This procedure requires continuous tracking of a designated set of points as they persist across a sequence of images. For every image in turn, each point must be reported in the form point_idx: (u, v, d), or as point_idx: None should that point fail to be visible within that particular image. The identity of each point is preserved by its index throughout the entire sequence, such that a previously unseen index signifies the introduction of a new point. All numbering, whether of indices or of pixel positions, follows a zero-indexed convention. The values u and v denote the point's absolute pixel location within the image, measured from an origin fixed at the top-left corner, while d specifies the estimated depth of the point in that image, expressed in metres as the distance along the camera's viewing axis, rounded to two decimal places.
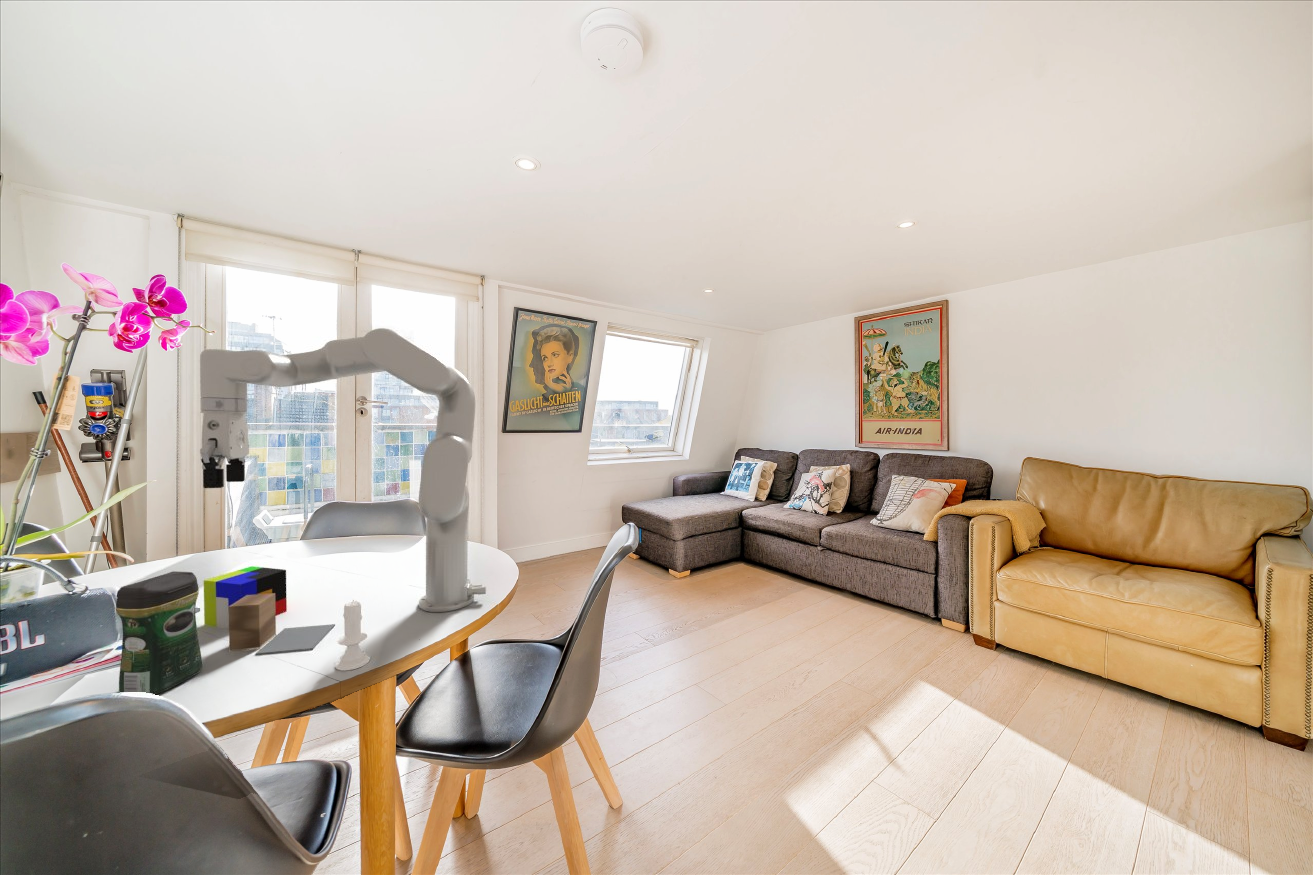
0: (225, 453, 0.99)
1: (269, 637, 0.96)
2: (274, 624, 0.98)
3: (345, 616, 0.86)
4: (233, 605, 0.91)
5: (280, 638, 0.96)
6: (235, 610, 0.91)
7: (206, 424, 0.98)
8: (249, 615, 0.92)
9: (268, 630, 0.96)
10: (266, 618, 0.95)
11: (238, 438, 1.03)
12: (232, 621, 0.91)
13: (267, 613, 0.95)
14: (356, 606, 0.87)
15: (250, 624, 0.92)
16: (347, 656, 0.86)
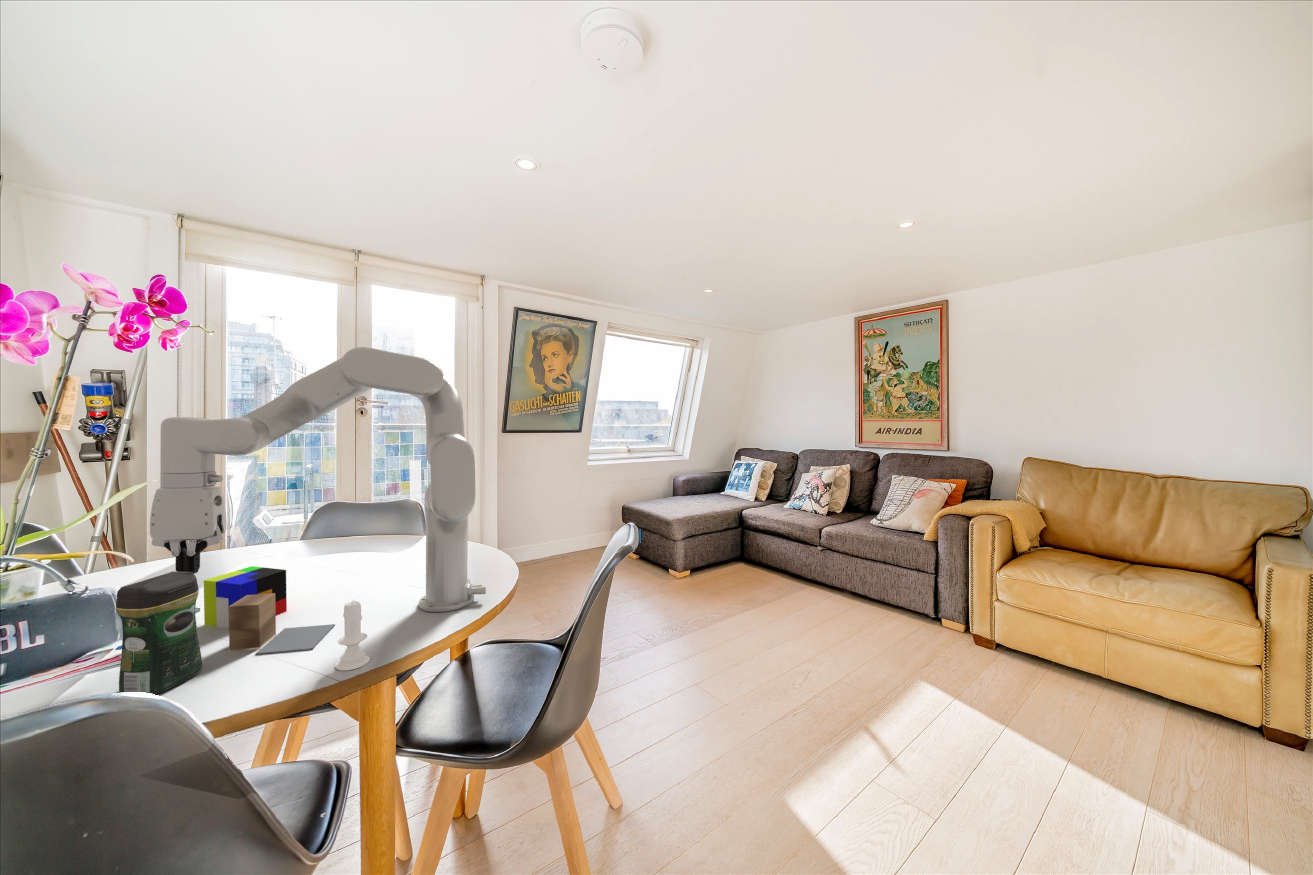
0: (225, 527, 0.94)
1: (269, 637, 0.96)
2: (274, 624, 0.98)
3: (345, 616, 0.86)
4: (233, 605, 0.91)
5: (280, 638, 0.96)
6: (235, 610, 0.91)
7: (213, 501, 0.91)
8: (249, 615, 0.92)
9: (268, 630, 0.96)
10: (266, 618, 0.95)
11: None
12: (232, 621, 0.91)
13: (267, 613, 0.95)
14: (356, 606, 0.87)
15: (250, 624, 0.92)
16: (347, 656, 0.86)
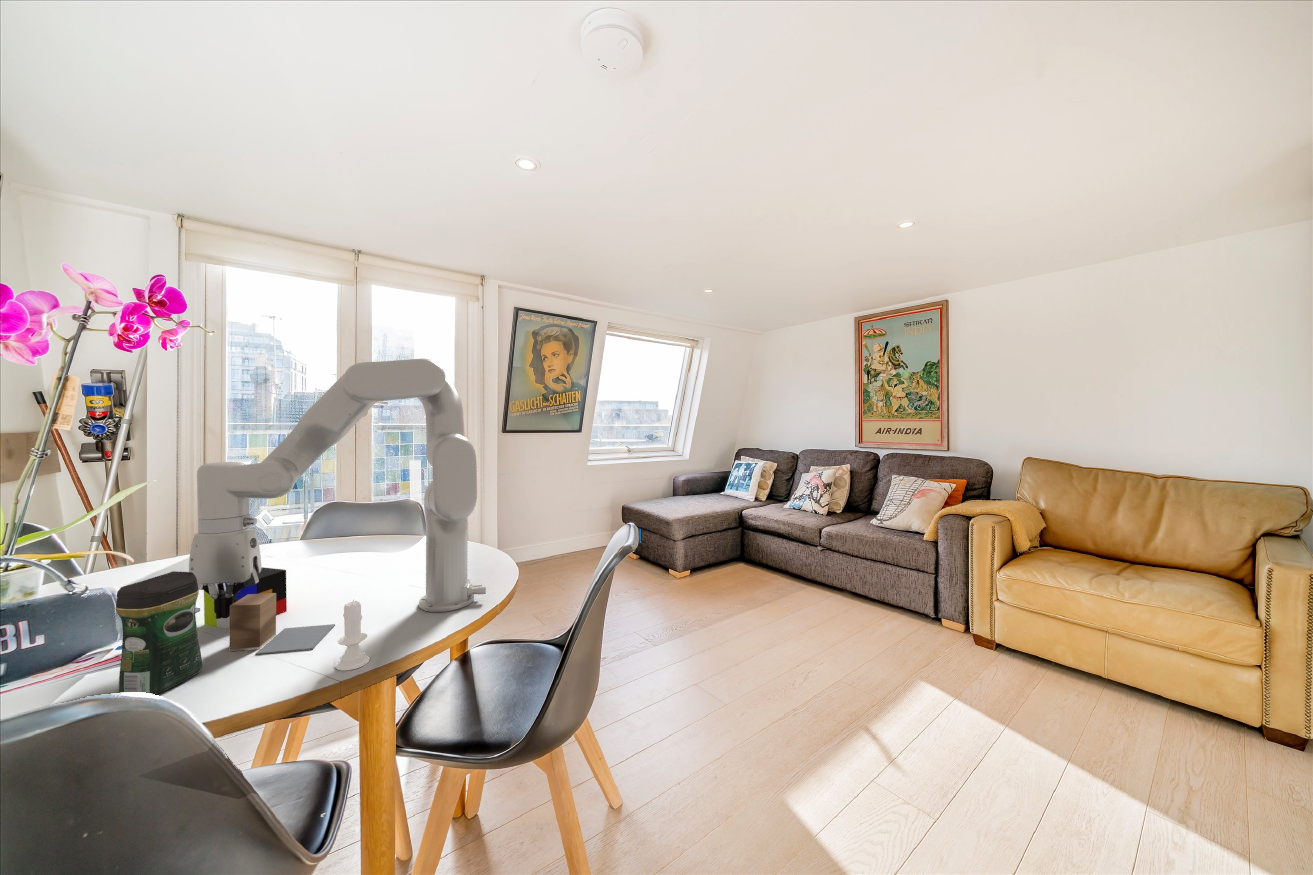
0: (260, 568, 0.96)
1: (269, 637, 0.96)
2: (274, 624, 0.98)
3: (345, 616, 0.86)
4: (234, 604, 0.91)
5: (280, 638, 0.96)
6: (236, 609, 0.91)
7: (248, 544, 0.93)
8: (250, 615, 0.92)
9: (269, 630, 0.96)
10: (267, 618, 0.95)
11: None
12: (233, 620, 0.91)
13: (268, 613, 0.95)
14: (356, 606, 0.87)
15: (251, 624, 0.92)
16: (347, 656, 0.86)
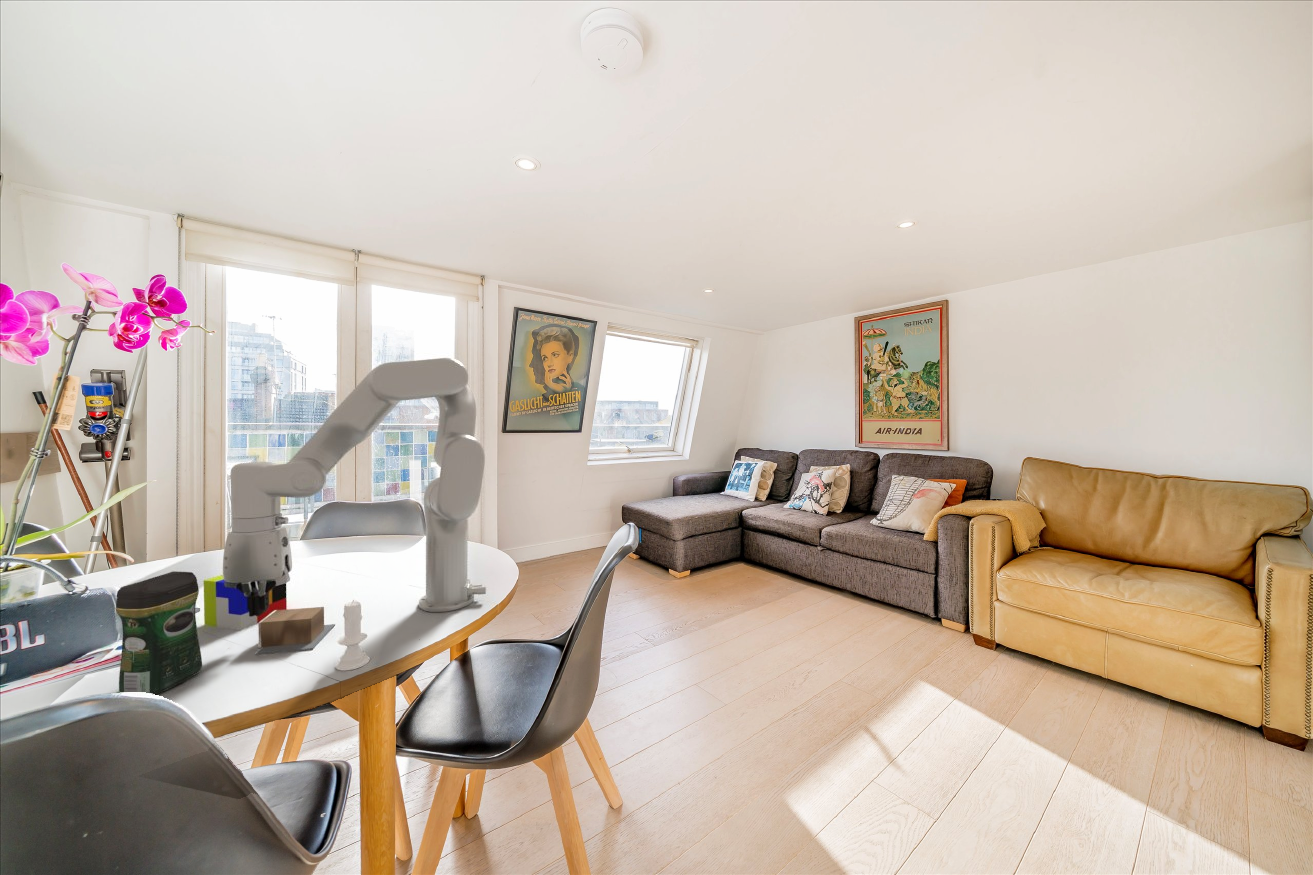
0: (291, 566, 0.98)
1: None
2: None
3: (345, 616, 0.86)
4: (312, 620, 0.95)
5: None
6: (306, 624, 0.94)
7: (281, 542, 0.94)
8: (299, 635, 0.94)
9: None
10: None
11: None
12: (294, 622, 0.94)
13: None
14: (356, 606, 0.87)
15: (288, 637, 0.94)
16: (347, 656, 0.86)
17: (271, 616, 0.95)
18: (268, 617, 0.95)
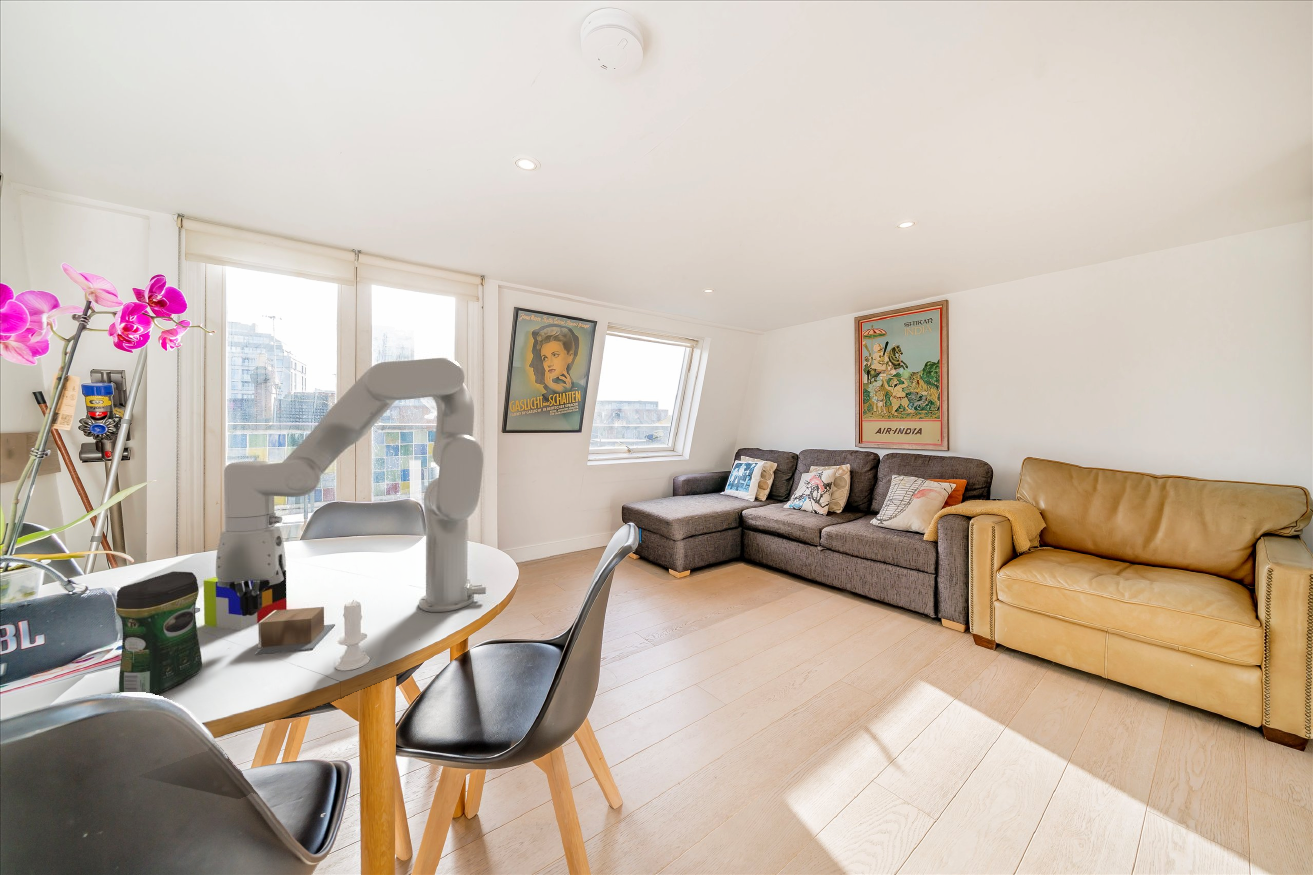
0: (285, 566, 0.97)
1: None
2: None
3: (345, 616, 0.86)
4: (312, 620, 0.95)
5: None
6: (306, 624, 0.94)
7: (274, 542, 0.94)
8: (299, 635, 0.94)
9: None
10: None
11: None
12: (294, 622, 0.94)
13: None
14: (356, 606, 0.87)
15: (288, 637, 0.94)
16: (347, 656, 0.86)
17: (271, 616, 0.95)
18: (268, 617, 0.95)
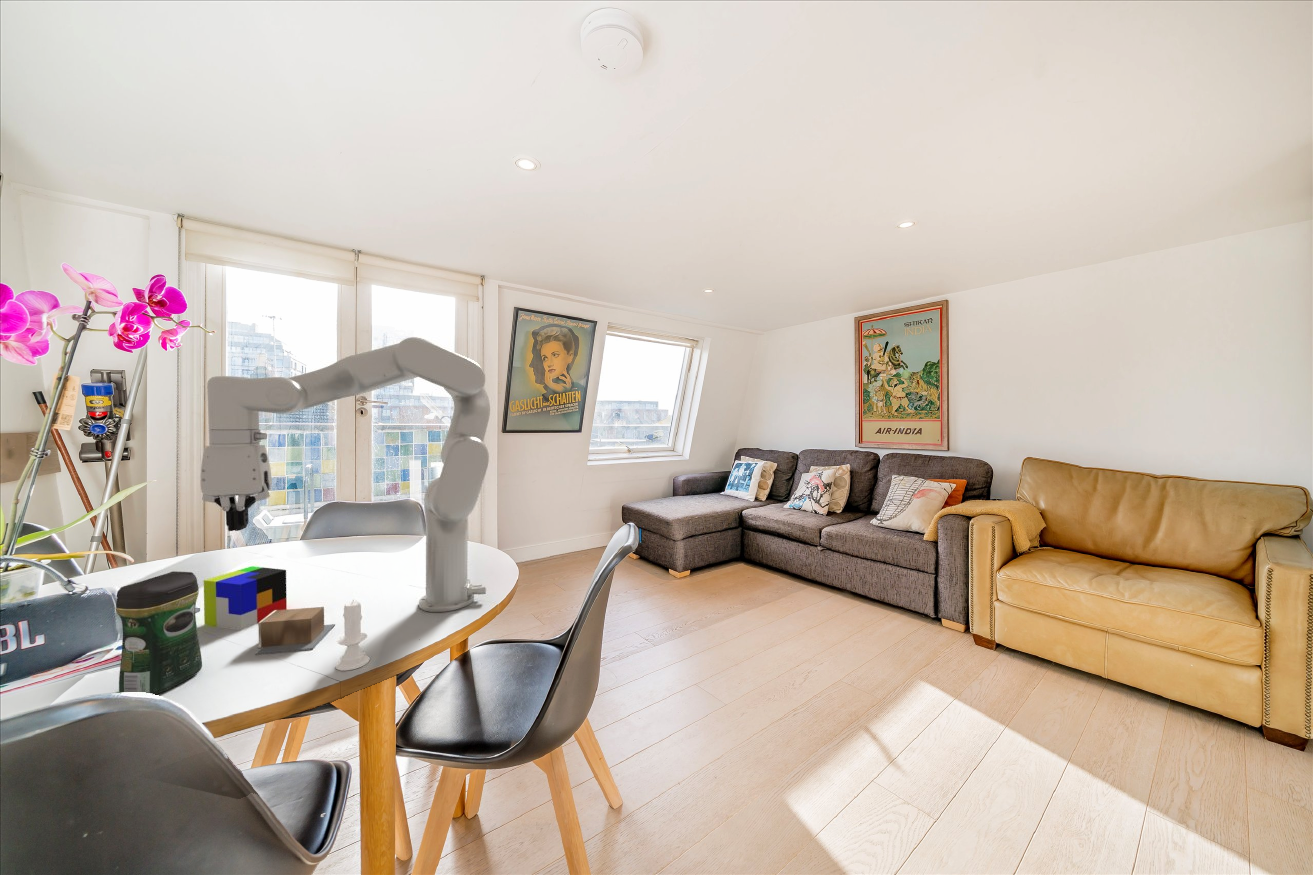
0: (271, 484, 0.97)
1: None
2: None
3: (345, 616, 0.86)
4: (312, 620, 0.95)
5: None
6: (306, 624, 0.94)
7: (259, 457, 0.94)
8: (299, 635, 0.94)
9: None
10: None
11: None
12: (294, 622, 0.94)
13: None
14: (356, 606, 0.87)
15: (288, 637, 0.94)
16: (347, 656, 0.86)
17: (271, 616, 0.95)
18: (268, 617, 0.95)
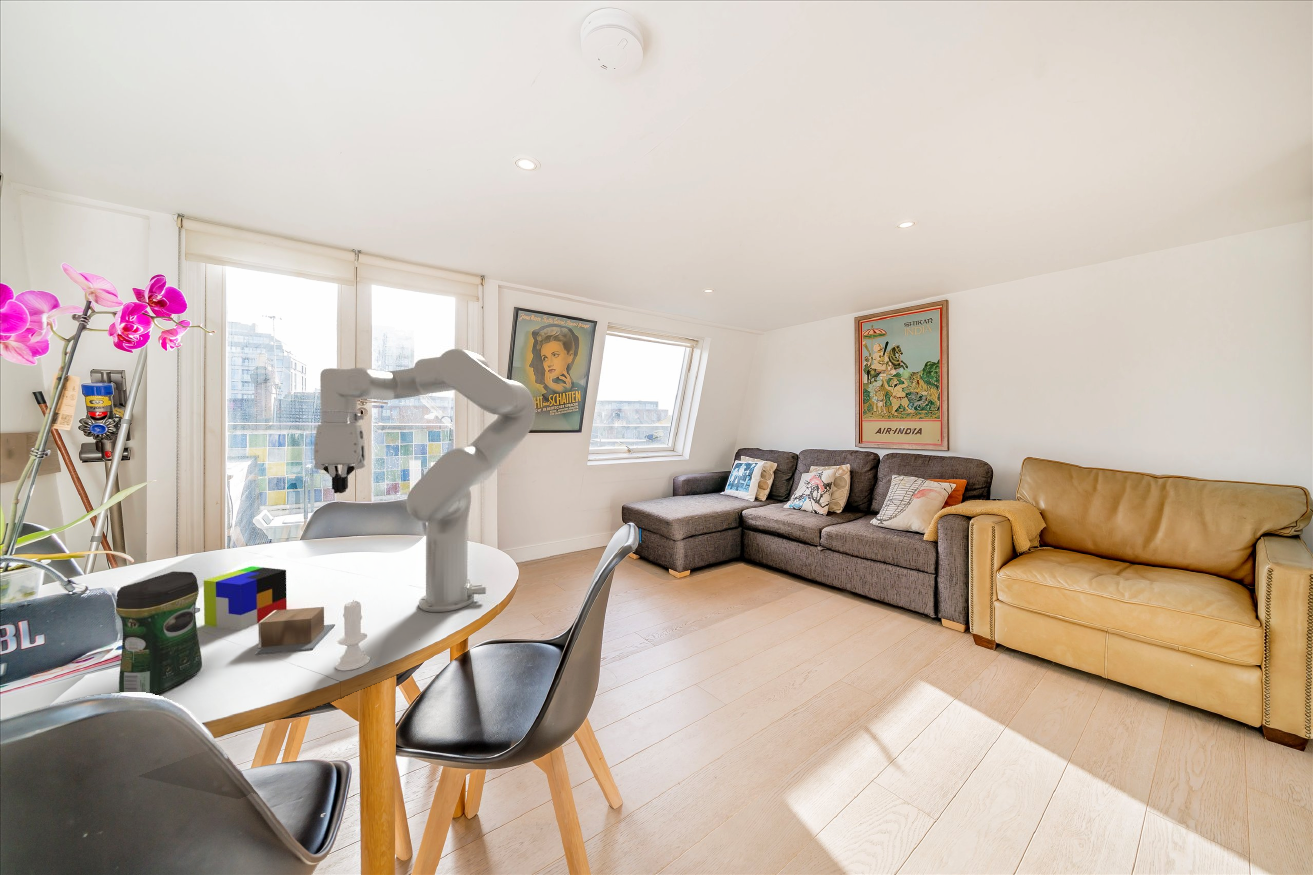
0: (364, 457, 1.20)
1: None
2: None
3: (345, 616, 0.86)
4: (312, 620, 0.95)
5: None
6: (306, 624, 0.94)
7: (358, 434, 1.16)
8: (299, 635, 0.94)
9: None
10: None
11: None
12: (294, 622, 0.94)
13: None
14: (356, 606, 0.87)
15: (288, 637, 0.94)
16: (347, 656, 0.86)
17: (271, 616, 0.95)
18: (268, 617, 0.95)
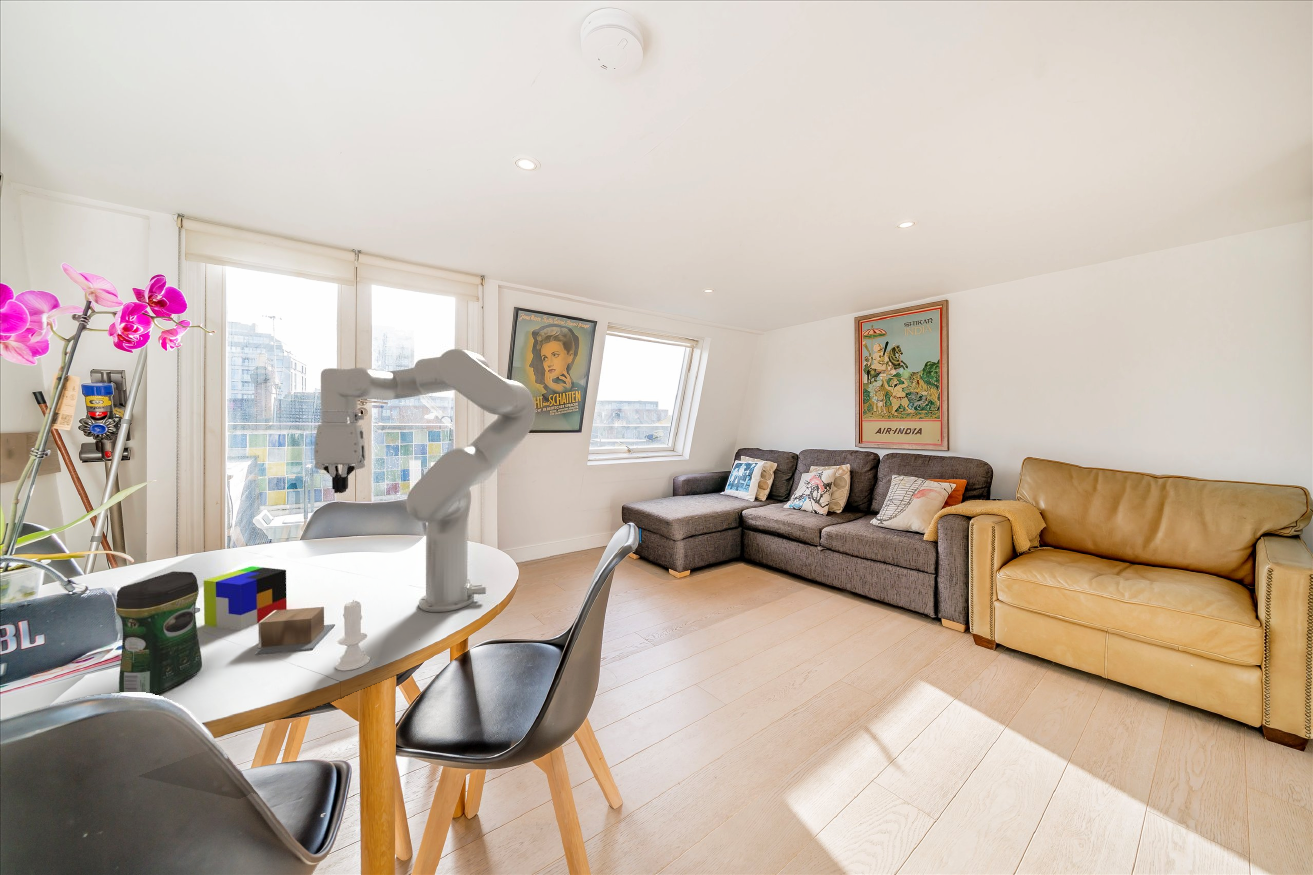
0: (365, 457, 1.20)
1: None
2: None
3: (345, 616, 0.86)
4: (312, 620, 0.95)
5: None
6: (306, 624, 0.94)
7: (359, 434, 1.16)
8: (299, 635, 0.94)
9: None
10: None
11: None
12: (294, 622, 0.94)
13: None
14: (356, 606, 0.87)
15: (288, 637, 0.94)
16: (347, 656, 0.86)
17: (271, 616, 0.95)
18: (268, 617, 0.95)
